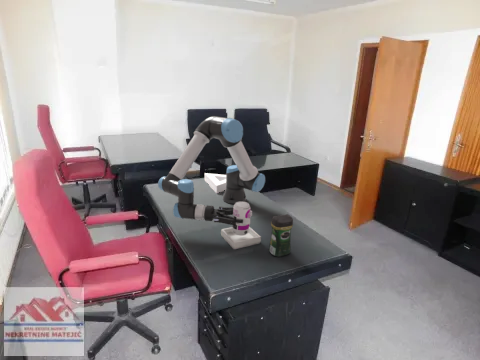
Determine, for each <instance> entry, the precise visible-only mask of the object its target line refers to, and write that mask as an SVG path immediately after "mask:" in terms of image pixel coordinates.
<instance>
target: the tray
mask: <svg viewBox="0 0 480 360" xmlns="http://www.w3.org/2000/svg"><path fill="white" fill-rule="evenodd" d="M220 236H221V237H222V239H224V241H225V242H226V243H227V244H228V245H230V247H231V248H232V249H233V250H237V249H242V248H245V247H250V246H255V245H258V244H261V242H262V236H261V235H259V233H258V232H256V231H255V230H254V229H253V228H252V227H250V226H249V232H248V233H247V234H246V235H243V236H240V235H236V234H234V233H233V231H232V226H230V227H226V228H221V230H220Z"/></svg>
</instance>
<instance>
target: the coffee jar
mask: <svg viewBox="0 0 480 360" xmlns="http://www.w3.org/2000/svg"><path fill="white" fill-rule="evenodd" d="M293 219H294V218H293V217H292V216H291V215H290V214H288V213H287V214H281V215H275V216H274V215H273V216H272V217H271V221H270V226H271V237H270V241H269V246H268V247H269V248H268V252H270V254H271V255H272V256H273V257H274V256H275V257H283V256H287V255H290V253H291V250H292V249H291V247H292V246H291V245H292V244H291V238H292V237H291V232H292V228H293V225H294V222H293V221H294V220H293Z"/></svg>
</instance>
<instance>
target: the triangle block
mask: <svg viewBox="0 0 480 360" xmlns="http://www.w3.org/2000/svg"><path fill="white" fill-rule="evenodd" d="M204 182H205V183H206V184H207V183H208V184H209V185H208V186H209V187H210V189H212V190H213V191H214V193H215V194H216V195H217V194H219V192H220V193H222V192H225V191H224V190H226V174H218V173H210V172H209V173H208V172H207V173H206V172H204Z"/></svg>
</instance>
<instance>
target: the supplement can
mask: <svg viewBox="0 0 480 360" xmlns="http://www.w3.org/2000/svg"><path fill="white" fill-rule="evenodd" d="M250 211H251V205H250V203H249V202H247V201H245V202H243V201H240V202H236V203H235V204H233V215H232V217H234V218H236V219H237V217H241V218H250V219H251V216H250ZM231 227H232V231H233V233H234V234H236V235H240V236H243V235H246V234H247V233H248V232H249V227H250V224H242V223H236V225H231Z"/></svg>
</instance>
